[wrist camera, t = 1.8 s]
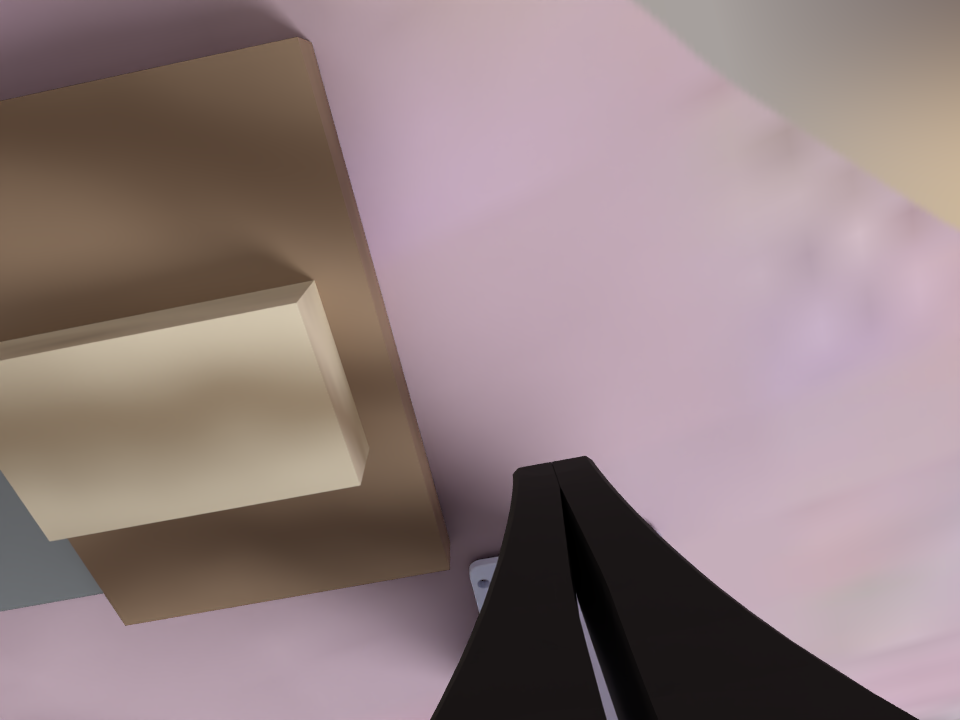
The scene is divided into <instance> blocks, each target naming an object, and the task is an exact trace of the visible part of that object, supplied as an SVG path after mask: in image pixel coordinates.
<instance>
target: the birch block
mask: <svg viewBox="0 0 960 720" xmlns="http://www.w3.org/2000/svg"><path fill="white" fill-rule="evenodd" d="M368 452H369V445H368V442H367V439H366V436H365V433H364V430H363V427H362V424H361V421H360V418H359V415H358V412H357V409H356V406H355V403H354V400H353V397H352V394H351V391H350V387H349V384H348V381H347V378H346V375H345V372H344V369H343V366H342V363H341V360H340V357H339V354H338V351H337V348H336V345H335V342H334V339H333V336H332V333H331V330H330V327H329V324H328V321H327V317H326V314H325V311H324V308H323V305H322V302H321V299H320V296H319V293H318V290H317V287H316V284H315V281H314V280H313V281H307V282H302V283H297V284H292V285H287V286H282V287H277V288H272V289H267V290H262V291H257V292H252V293H247V294H241V295H236V296H231V297H226V298H221V299H216V300H211V301H206V302H201V303H196V304H191V305H186V306H180V307H175V308H170V309H165V310H160V311H155V312H150V313H145V314H140V315H135V316H130V317H125V318H120V319H114V320H109V321H104V322H99V323H94V324H89V325H84V326H79V327H74V328H69V329H64V330H59V331H54V332H48V333H43V334H38V335H33V336H28V337H23V338H18V339H13V340H8V341H3V342H0V470H1V471H2V473H3V474H4V476H5V477H6V479H7V480H8V482H9V483H10V485H11V486H12V487H13V489H14V490H15V492H16V493H17V495H18V496H19V498H20V499H21V501H22V502H23V504H24V505H25V506H26V508H27V509H28V511H29V512H30V514H31V515H32V517H33V518H34V520H35V521H36V522H37V524H38V525H39V527H40V528H41V530H42V531H43V533H44V534H45V536H46V537H47V538H48V540H49V541H55V540H61V539H66V538H72V537H77V536H83V535H89V534H94V533H100V532H105V531H111V530H116V529H122V528H127V527H133V526H138V525H144V524H149V523H155V522H161V521H166V520H172V519H177V518H183V517H188V516H194V515H199V514H205V513H210V512H216V511H221V510H227V509H233V508H238V507H244V506H249V505H255V504H260V503H266V502H271V501H277V500H282V499H288V498H293V497H299V496H305V495H310V494H316V493H321V492H327V491H332V490H338V489H343V488H349V487H354V486H360V485H361V481H362V477H363V473H364V469H365V465H366V460H367V456H368Z"/></svg>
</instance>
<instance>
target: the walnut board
mask: <svg viewBox="0 0 960 720" xmlns="http://www.w3.org/2000/svg"><path fill="white" fill-rule="evenodd" d="M313 280H314V281H315V284H316V287H317V290H318V293H319V296H320V299H321V302H322V305H323V308H324V311H325V314H326V317H327V321H328V324H329V327H330V330H331V333H332V336H333V339H334V342H335V345H336V348H337V351H338V354H339V357H340V360H341V363H342V366H343V369H344V372H345V375H346V378H347V381H348V384H349V387H350V391H351V394H352V397H353V400H354V403H355V406H356V409H357V412H358V415H359V418H360V421H361V424H362V427H363V430H364V433H365V436H366V439H367V442H368V445H369V452H368V456H367V460H366V465H365V469H364V473H363V477H362V481H361V485H360V486H354V487H349V488H343V489H338V490H332V491H327V492H321V493H316V494H310V495H305V496H299V497H293V498H288V499H282V500H277V501H271V502H266V503H260V504H255V505H249V506H244V507H238V508H233V509H227V510H221V511H216V512H210V513H205V514H199V515H194V516H188V517H183V518H177V519H172V520H166V521H161V522H155V523H149V524H144V525H138V526H133V527H127V528H122V529H116V530H111V531H105V532H100V533H94V534H89V535H83V536H77V537H72V538H67V539H68V540H69V542H70V543H71V545H72V546H73V548H74V549H75V551H76V552H77V554H78V555H79V557H80V558H81V560H82V561H83V563H84V564H85V566H86V567H87V569H88V570H89V572H90V573H91V575H92V576H93V578H94V579H95V581H96V582H97V584H98V585H99V587H100V588H101V590H102V591H103V593H104V594H105V596H106V597H107V599H108V600H109V602H110V603H111V605H112V606H113V608H114V609H115V611H116V612H117V614H118V615H119V617H120V618H121V620H122V621H123V623H124V624H125V626H127V625H132V624H138V623H144V622H150V621H156V620H161V619H167V618H173V617H179V616H184V615H190V614H196V613H202V612H208V611H213V610H219V609H225V608H231V607H237V606H242V605H248V604H254V603H260V602H265V601H271V600H277V599H283V598H289V597H294V596H300V595H306V594H312V593H317V592H323V591H329V590H335V589H341V588H346V587H352V586H358V585H364V584H369V583H375V582H381V581H387V580H393V579H398V578H404V577H410V576H416V575H421V574H427V573H433V572H439V571H445V570H450V539H449V536H448V532H447V529H446V525H445V521H444V518H443V514H442V511H441V507H440V503H439V500H438V496H437V493H436V489H435V485H434V482H433V478H432V475H431V471H430V467H429V464H428V460H427V457H426V453H425V449H424V446H423V442H422V439H421V435H420V431H419V428H418V424H417V421H416V417H415V413H414V410H413V406H412V403H411V399H410V395H409V392H408V388H407V385H406V381H405V377H404V374H403V370H402V367H401V363H400V359H399V356H398V352H397V349H396V345H395V341H394V338H393V334H392V330H391V327H390V323H389V320H388V316H387V312H386V309H385V305H384V302H383V298H382V294H381V291H380V287H379V284H378V280H377V276H376V273H375V269H374V266H373V262H372V258H371V255H370V251H369V248H368V244H367V240H366V237H365V233H364V230H363V226H362V222H361V219H360V215H359V212H358V208H357V204H356V201H355V197H354V194H353V190H352V186H351V183H350V179H349V176H348V172H347V168H346V165H345V161H344V158H343V154H342V150H341V147H340V143H339V140H338V136H337V132H336V129H335V125H334V122H333V118H332V114H331V111H330V107H329V104H328V100H327V96H326V93H325V89H324V86H323V82H322V78H321V75H320V71H319V68H318V64H317V60H316V57H315V53H314V50H313V46H312V43H311V42H309V41H306V40H304V39H301V38H299V37H294V38H290V39H285V40H281V41H276V42H271V43H267V44H262V45H257V46H253V47H248V48H243V49H239V50H234V51H230V52H225V53H220V54H216V55H211V56H206V57H202V58H197V59H192V60H188V61H183V62H179V63H174V64H169V65H165V66H160V67H155V68H151V69H146V70H141V71H137V72H132V73H128V74H123V75H118V76H114V77H109V78H104V79H100V80H95V81H90V82H86V83H81V84H77V85H72V86H67V87H63V88H58V89H53V90H49V91H44V92H39V93H35V94H30V95H26V96H21V97H16V98H12V99H7V100H2V101H0V342H3V341H8V340H13V339H18V338H23V337H28V336H33V335H38V334H43V333H48V332H54V331H59V330H64V329H69V328H74V327H79V326H84V325H89V324H94V323H99V322H104V321H109V320H114V319H120V318H125V317H130V316H135V315H140V314H145V313H150V312H155V311H160V310H165V309H170V308H175V307H180V306H186V305H191V304H196V303H201V302H206V301H211V300H216V299H221V298H226V297H231V296H236V295H241V294H247V293H252V292H257V291H262V290H267V289H272V288H277V287H282V286H287V285H292V284H297V283H302V282H307V281H313Z"/></svg>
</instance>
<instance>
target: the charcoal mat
mask: <svg viewBox="0 0 960 720" xmlns="http://www.w3.org/2000/svg"><path fill="white" fill-rule="evenodd" d="M102 593H103V591H102V590H101V588H100V587H99V585H98V584H97V582H96V581H95V579H94V578H93V576H92V575H91V573H90V572H89V570H88V569H87V567H86V566H85V564H84V563H83V561H82V560H81V558H80V557H79V555H78V554H77V552H76V551H75V549H74V548H73V546H72V545H71V543H70V542H69V540H68V539H67V538H66V539H61V540H55V541H49V540H48V538H47V537H46V536H45V534H44V533H43V531H42V530H41V528H40V527H39V525H38V524H37V522H36V521H35V520H34V518H33V517H32V515H31V514H30V512H29V511H28V509H27V508H26V506H25V505H24V504H23V502H22V501H21V499H20V498H19V496H18V495H17V493H16V492H15V490H14V489H13V487H12V486H11V485H10V483H9V482H8V480H7V479H6V477H5V476H4V474H3V473H2V471H1V470H0V611H6V610H11V609H17V608H23V607H28V606H34V605H40V604H45V603H51V602H57V601H62V600H68V599H74V598H80V597H85V596H91V595H97V594H102Z"/></svg>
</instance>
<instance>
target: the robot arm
mask: <svg viewBox="0 0 960 720" xmlns="http://www.w3.org/2000/svg"><path fill="white" fill-rule="evenodd" d="M469 576H470V580H471V584H472V588H473V591H474V595H475V599H476V602H477V606H478V610H479V616H478V619H477V621H476V624H475V626H474V629H473V631H472V634H471V636H470V638H469V641H468V643H467V645H466V647H465V650H464V652H463V654H462V657H461V659H460V661H459V663H458V665H457V667H456V669H455V671H454V673H453V675H452V678H451V680H450V682H449V684H448V686H447V688H446V690H445V692H444V694H443V696H442V698H441V700H440V702H439V704H438V706H437V708H436V710H435V712H434V714H433V715H432V717H431V719H430V720H919V719H917V718H915V717H914V716H912V715H910V714H908V713H907V712H905V711H903V710H902V709H900V708H898V707H896V706H895V705H893V704H891V703H890V702H888V701H886V700H884V699H883V698H881V697H879V696H877V695H876V694H874V693H872V692H871V691H869V690H868V689H866V688H864V687H863V686H861V685H860V684H858V683H857V682H855V681H853V680H852V679H850V678H849V677H847V676H846V675H844V674H843V673H841V672H839V671H838V670H836V669H835V668H833V667H832V666H830V665H828V664H827V663H825V662H824V661H822V660H821V659H819V658H818V657H816V656H814V655H813V654H811V653H810V652H808V651H807V650H805V649H803V648H802V647H800V646H799V645H797V644H796V643H794V642H793V641H791V640H790V639H788V638H787V637H785V636H784V635H783V634H781V633H780V632H778V631H777V630H776V629H774V628H773V627H771V626H770V625H769V624H767V623H766V622H764V621H763V620H762V619H760V618H759V617H757V616H756V615H755V614H753V613H752V612H751V611H749V610H748V609H747V608H745V607H744V606H743V605H741V604H740V603H739V602H737V601H736V600H735V599H733V598H732V597H731V596H730V595H728V594H727V593H726V592H724V591H723V590H722V589H721V588H719V587H718V586H717V585H716V584H714V583H713V582H712V581H711V580H710V579H708V578H707V577H706V576H705V575H704V574H702V573H701V572H700V571H699V570H698V569H696V568H695V567H694V566H693V565H692V564H691V563H690V562H689V561H687V560H686V559H685V558H684V557H683V556H682V555H681V554H679V553H678V552H677V551H676V550H675V549H674V548H673V547H672V546H671V545H670V544H668V543H667V542H666V541H665V540H664V539H663V538H662V537H661V535H660V534H659V533H658V532H657V531H655V530H654V529H653V528H652V527H651V526H650V525H649V524H648V523H647V522H646V521H645V520H644V519H643V518H642V517H641V516H640V515H639V514H638V513H637V512H636V511H635V510H634V509H633V508H632V507H631V506H630V505H629V504H628V503H627V502H626V501H625V499H624V498H623V497H622V496H621V495H620V494H619V493H618V492H617V491H616V489H615V488H614V487H613V486H612V485H611V484H610V482H609V481H608V480H607V479H606V478H605V476H604V475H603V474H602V473H601V471H600V470H599V469H598V468H597V466H596V465H595V463H594V462H593V461H592V460H591V459H590V458H588V457H587V456H582V457H576V458H571V459H565V460H560V461H554V462H549V463H543V464H537V465H532V466H526V467H521V468H518V469H517V470H516V471H515V472H514V474H513V492H512V500H511V506H510V512H509V517H508V522H507V526H506V530H505V534H504V538H503V542H502V546H501V550H500V554H499V556H498V557H493V558H487V559H481V560H477V561H474V562H473V563H472V564H471V565H470V567H469ZM482 579H486V581H480V580H482Z"/></svg>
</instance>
